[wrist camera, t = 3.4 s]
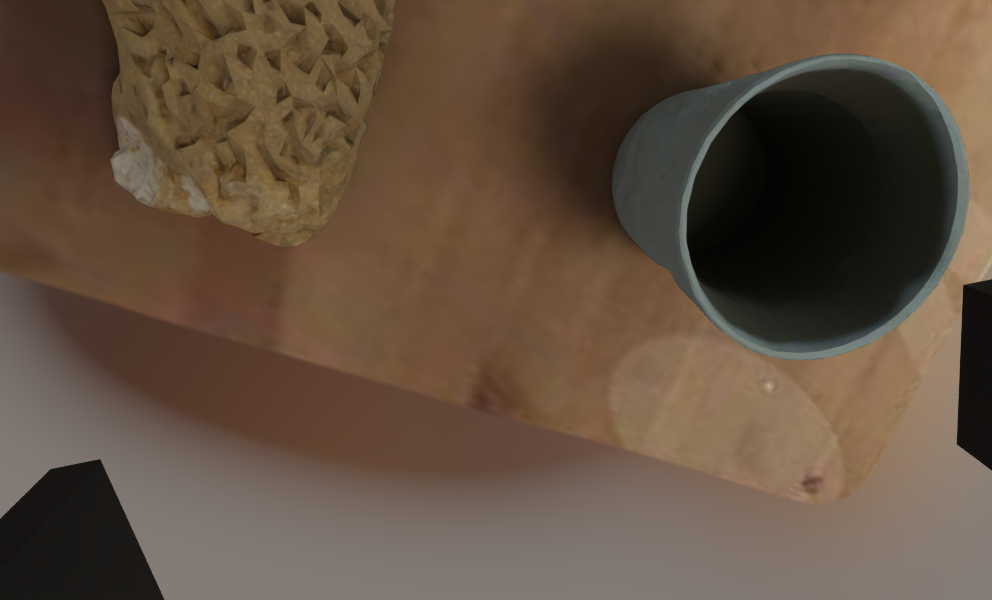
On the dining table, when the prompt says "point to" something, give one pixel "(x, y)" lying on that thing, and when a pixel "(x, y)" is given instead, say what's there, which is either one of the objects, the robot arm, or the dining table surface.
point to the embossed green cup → (799, 200)
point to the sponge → (245, 106)
